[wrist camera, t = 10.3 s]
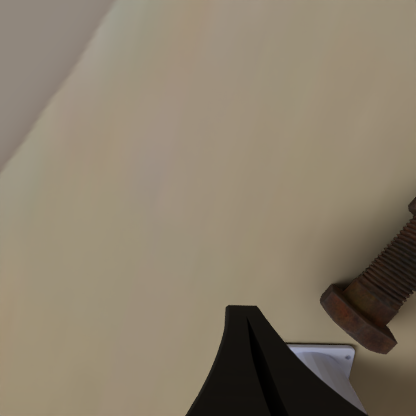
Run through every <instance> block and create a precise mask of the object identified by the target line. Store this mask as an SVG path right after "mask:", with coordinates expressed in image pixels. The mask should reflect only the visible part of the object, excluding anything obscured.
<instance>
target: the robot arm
mask: <svg viewBox="0 0 416 416" xmlns="http://www.w3.org/2000/svg"><path fill="white" fill-rule="evenodd" d="M354 354H355V350H354V349H353V347H352V346H349V345H298V344H286V343H285V342H284V341H283V340H282V338H281V337H280V336H279V335H278V334H277V332H276V331H275V330H274V329H273V327H272V326H271V325H270V323H269V322H268V321H267V319H266V318H265V317H264V315H263V314H262V312H261V311H260V309H259V308H258V307H257V306H241V305H228V306H227V307H226V312H225V327H224V333H223V337H222V340H221V344H220V347H219V350H218V353H217V355H216V358H215V361H214V363H213V365H212V368H211V370H210V372H209V375H208V377H207V379H206V381H205V383H204V385H203V387H202V389H201V390H200V392H199V394H198V396H197V397H196V399H195V401H194V402H193V404H192V406H191V407H190V409H189V411H188V412H187V414H186V415H185V416H368V414H367V412H366V410H365V409H364V407H363V405H362V403H361V402H360V400H359V398H358V396H357V394H356V393H355V391H354V389H353V387H352V386H351V384H350V382H349V380H348V379H349V375H350V371H351V367H352V363H353V358H354ZM347 355H348V356H347Z"/></svg>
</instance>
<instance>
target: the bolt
mask: <svg viewBox="0 0 416 416" xmlns="http://www.w3.org/2000/svg"><path fill="white" fill-rule="evenodd" d="M408 207H409V211H410V212H411V213H412V214H413V215H414V216H413V219H411V220H410V223H406V225H407V227H403V229H404V230H401V231H400V233H401V234H397V237H398V238H395V237H394V240H395V241H391V244H392V245H389V244H388V245H387V246H388V248H384V250H385V251H381V253H382V255H378V257H379V258H375V260H376V262H373V261H372V264H373V265H369V267H370V268H366V270H367V272H364V271H363V274H364V275H360V276H359V277H358V278H355V279H354V280H353V281H352V283H351V284H350V285H349V286H348V287H347V288H346V289H345V290H344V291H342V290H341V289H339V288H338V287H336V286H335V285H333V284H331V285H330V286H329V287H328V289H327V290H326V291H325V292H324V293H323V294H322V296H321V298H320V303H321V305H322V306H323V308H324V310H325V311H326V312H327V313H328V315H329V316H330V317H331V318H332V319H333V321H334V322H335V323H336V324H337V325H339V326H340V327H341V328H342V329H343V330H344V331H345V332H346V333H347V334H349V335H350V336H351V337H352V338H353V339H355V340H356V341H357V342H358V343H360V344H361V345H362V346H364V347H365V348H366V349H368V350H370V351H373V352H376V353H381V354H387V353H388V352H389V351H390V350H391V349H392V348H393V347H394V346H395V345H396V344H397V341H396V340H395V338H394V336H393V334H392V333H391V331H390V329H389V328H388V327H387V326H386V324H387V323H388V322H389V321H390V320H391V319H392V318H393V317H394V316H395V315H396V314H397V313H398V309H399V308H400V306H402V305H403V303H402V301H404V302H405V301H407V300H406V298H405V297H407V298H409V297H410V296H409V294H413V292H412V290H413V291H416V197H415V198H414V200H413V201H412V202H411V203H410V204H409V205H408Z"/></svg>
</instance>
